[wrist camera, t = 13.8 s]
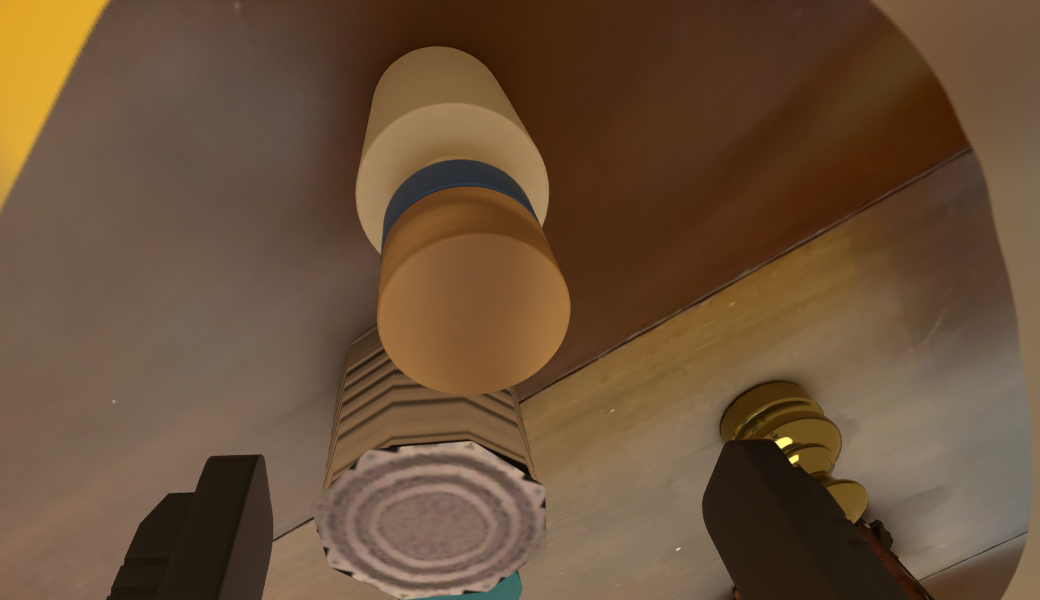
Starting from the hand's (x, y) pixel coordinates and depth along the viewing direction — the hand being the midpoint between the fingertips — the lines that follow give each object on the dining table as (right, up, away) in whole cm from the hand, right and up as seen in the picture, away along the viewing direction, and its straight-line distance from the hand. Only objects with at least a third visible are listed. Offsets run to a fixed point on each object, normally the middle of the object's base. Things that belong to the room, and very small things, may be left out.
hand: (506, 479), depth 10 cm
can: (-6, -2, +29) cm, 29 cm away
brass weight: (+19, -6, +36) cm, 41 cm away
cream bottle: (-4, +12, +20) cm, 24 cm away
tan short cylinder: (-1, +4, +7) cm, 8 cm away
